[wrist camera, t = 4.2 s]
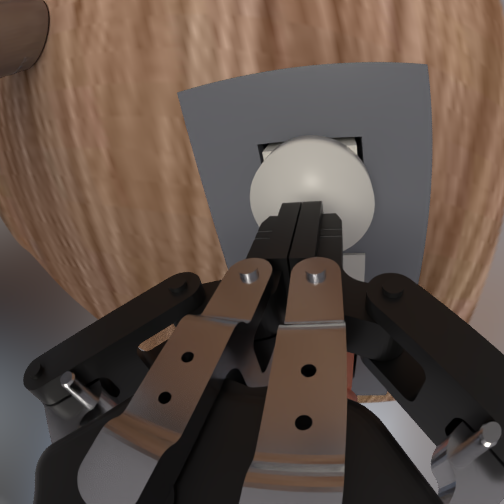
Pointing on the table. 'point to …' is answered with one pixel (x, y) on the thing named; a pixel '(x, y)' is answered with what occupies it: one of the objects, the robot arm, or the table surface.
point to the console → (332, 126)
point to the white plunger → (316, 181)
